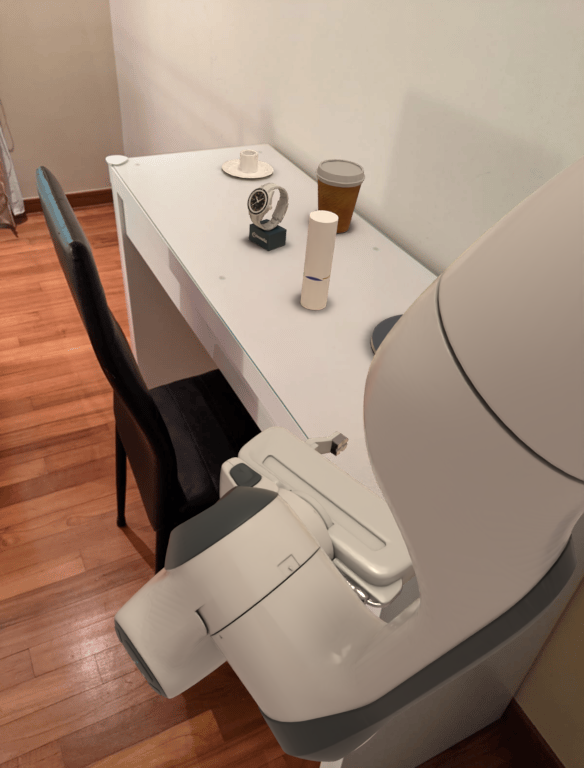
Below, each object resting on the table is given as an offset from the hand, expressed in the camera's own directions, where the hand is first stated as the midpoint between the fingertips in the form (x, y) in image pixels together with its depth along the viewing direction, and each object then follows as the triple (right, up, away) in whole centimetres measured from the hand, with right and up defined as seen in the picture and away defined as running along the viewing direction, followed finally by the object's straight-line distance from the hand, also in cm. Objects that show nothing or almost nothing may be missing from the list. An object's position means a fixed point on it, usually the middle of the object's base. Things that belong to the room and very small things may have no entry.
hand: (377, 463), depth 63 cm
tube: (-5, +21, +37) cm, 43 cm away
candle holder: (-19, +58, +80) cm, 100 cm away
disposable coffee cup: (-1, +40, +61) cm, 72 cm away
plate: (+12, +13, +30) cm, 34 cm away
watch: (-14, +35, +53) cm, 64 cm away
